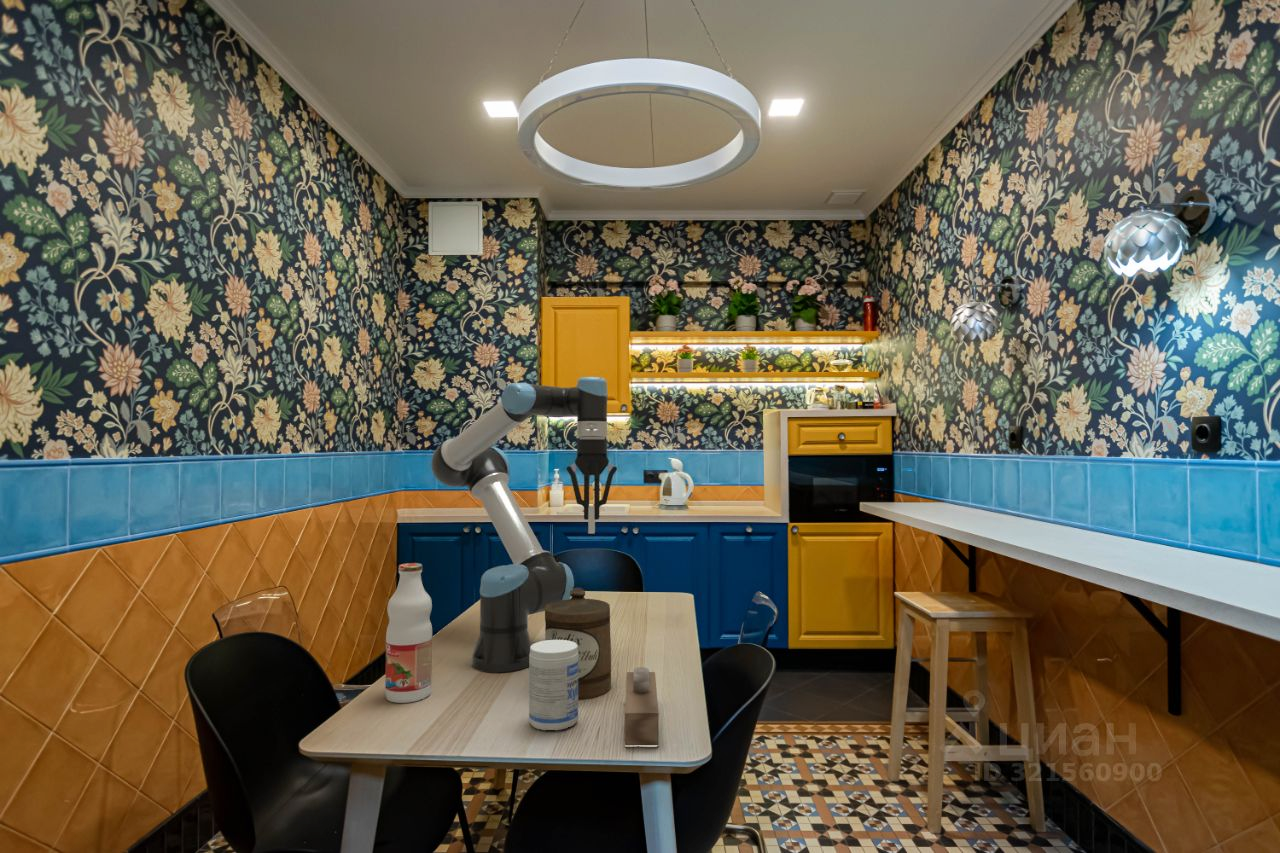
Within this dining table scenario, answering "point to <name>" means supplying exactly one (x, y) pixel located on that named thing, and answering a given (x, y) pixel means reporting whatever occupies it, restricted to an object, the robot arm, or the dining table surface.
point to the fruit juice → (409, 639)
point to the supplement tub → (553, 684)
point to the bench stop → (641, 708)
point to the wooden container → (584, 638)
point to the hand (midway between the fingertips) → (591, 532)
